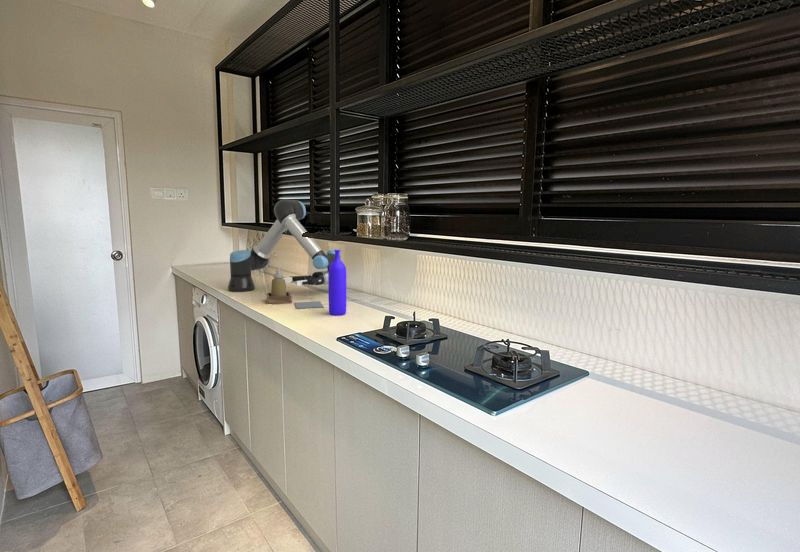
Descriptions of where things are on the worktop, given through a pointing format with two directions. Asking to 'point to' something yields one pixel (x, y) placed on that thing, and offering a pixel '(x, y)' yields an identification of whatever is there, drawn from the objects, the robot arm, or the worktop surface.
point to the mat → (308, 305)
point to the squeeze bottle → (278, 285)
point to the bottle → (337, 286)
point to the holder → (279, 299)
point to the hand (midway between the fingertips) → (288, 282)
